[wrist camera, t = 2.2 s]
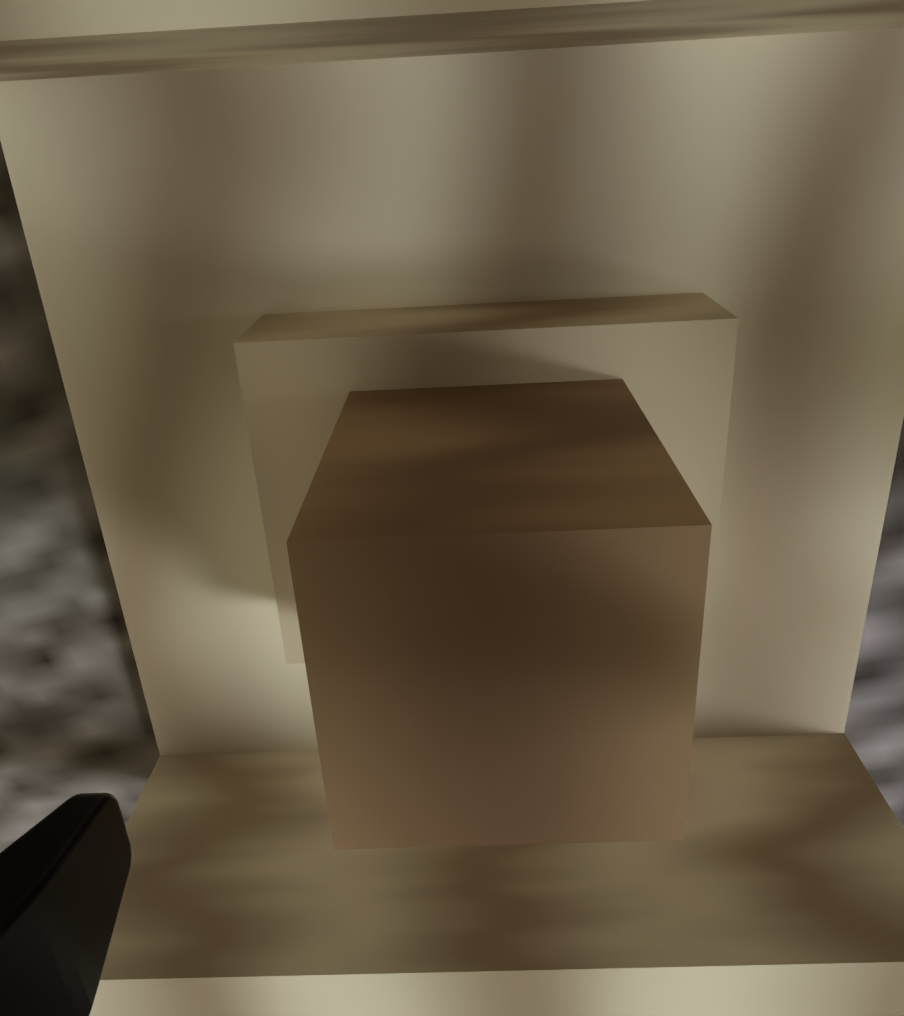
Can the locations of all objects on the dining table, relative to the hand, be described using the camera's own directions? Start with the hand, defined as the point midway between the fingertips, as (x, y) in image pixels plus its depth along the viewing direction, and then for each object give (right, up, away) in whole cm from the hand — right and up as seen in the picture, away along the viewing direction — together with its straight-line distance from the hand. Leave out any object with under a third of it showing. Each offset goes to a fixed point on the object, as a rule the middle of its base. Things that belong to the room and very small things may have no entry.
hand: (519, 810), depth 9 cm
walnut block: (0, +3, +7) cm, 8 cm away
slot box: (0, +5, +10) cm, 11 cm away
